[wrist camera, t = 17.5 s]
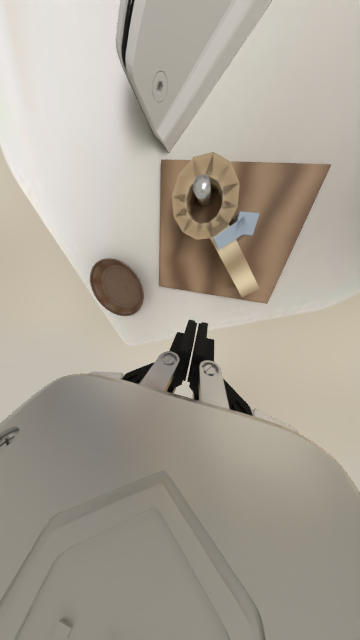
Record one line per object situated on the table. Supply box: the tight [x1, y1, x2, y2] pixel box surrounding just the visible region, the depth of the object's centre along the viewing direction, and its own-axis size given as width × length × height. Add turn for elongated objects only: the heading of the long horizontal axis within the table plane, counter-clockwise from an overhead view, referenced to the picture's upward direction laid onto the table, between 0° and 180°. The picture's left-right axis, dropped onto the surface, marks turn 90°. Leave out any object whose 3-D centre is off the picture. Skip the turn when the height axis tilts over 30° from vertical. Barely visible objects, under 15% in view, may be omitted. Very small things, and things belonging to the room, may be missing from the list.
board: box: [159, 160, 331, 304], centre depth 27 cm, size 24×21×1 cm
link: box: [172, 152, 260, 297], centre depth 24 cm, size 20×9×6 cm, turn 36°
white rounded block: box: [116, 0, 272, 152], centre depth 15 cm, size 17×5×10 cm, turn 130°
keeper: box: [214, 212, 259, 249], centre depth 23 cm, size 5×5×8 cm
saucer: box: [90, 259, 144, 316], centre depth 36 cm, size 15×15×3 cm
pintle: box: [193, 174, 212, 207], centre depth 21 cm, size 2×2×8 cm
